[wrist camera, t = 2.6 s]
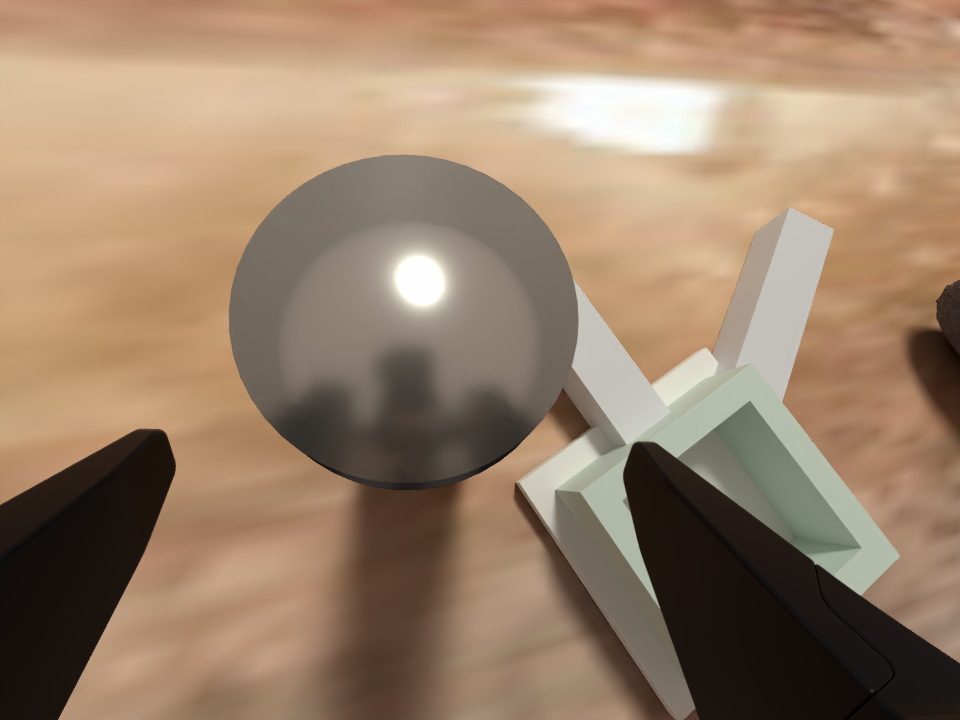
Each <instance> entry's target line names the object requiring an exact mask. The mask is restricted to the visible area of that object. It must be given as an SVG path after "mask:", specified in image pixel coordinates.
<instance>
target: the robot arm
mask: <svg viewBox="0 0 960 720" xmlns="http://www.w3.org/2000/svg"><path fill="white" fill-rule="evenodd" d="M175 470H176V462H175V459H174V455H173V452H172V449H171V446H170V443H169V440H168V437H167V434H166V433H165V432H164V431H163V430H160V429H137V430H135V431H133V432H131V433H129V434H127V435H126V436H124V437H122V438H120V439H118V440H117V441H115V442H113V443H111V444H109V445H108V446H106V447H104V448H102V449H100V450H99V451H97V452H95V453H93V454H91V455H90V456H88V457H86V458H84V459H82V460H80V461H79V462H77V463H75V464H73V465H71V466H70V467H68V468H66V469H64V470H62V471H61V472H59V473H57V474H55V475H53V476H52V477H50V478H48V479H46V480H44V481H43V482H41V483H39V484H37V485H35V486H34V487H32V488H30V489H28V490H26V491H24V492H23V493H21V494H19V495H17V496H15V497H14V498H12V499H10V500H8V501H6V502H5V503H3V504H1V505H0V720H58V719H59V717H60V715H61V713H62V711H63V709H64V707H65V705H66V703H67V701H68V699H69V698H70V696H71V694H72V692H73V690H74V688H75V686H76V684H77V682H78V680H79V678H80V676H81V674H82V672H83V670H84V669H85V667H86V665H87V663H88V661H89V659H90V657H91V655H92V653H93V651H94V649H95V647H96V645H97V643H98V641H99V640H100V638H101V636H102V634H103V632H104V630H105V628H106V626H107V624H108V622H109V620H110V618H111V616H112V614H113V612H114V611H115V609H116V607H117V605H118V603H119V601H120V599H121V597H122V595H123V593H124V591H125V589H126V587H127V585H128V583H129V582H130V580H131V578H132V576H133V574H134V572H135V570H136V568H137V566H138V564H139V562H140V560H141V558H142V556H143V554H144V552H145V550H146V547H147V545H148V542H149V540H150V538H151V535H152V532H153V530H154V527H155V525H156V522H157V519H158V517H159V514H160V512H161V509H162V506H163V504H164V501H165V498H166V496H167V493H168V491H169V488H170V485H171V483H172V480H173V478H174V475H175ZM623 482H624V487H625V491H626V495H627V499H628V504H629V508H630V512H631V516H632V521H633V525H634V529H635V533H636V538H637V542H638V545H639V549H640V552H641V555H642V558H643V562H644V564H645V567H646V570H647V573H648V576H649V579H650V581H651V584H652V587H653V590H654V593H655V595H656V598H657V601H658V604H659V607H660V610H661V612H662V615H663V618H664V621H665V624H666V627H667V629H668V632H669V635H670V638H671V641H672V644H673V646H674V649H675V652H676V655H677V658H678V660H679V663H680V666H681V669H682V672H683V675H684V677H685V680H686V683H687V686H688V689H689V692H690V694H691V697H692V700H693V703H694V706H695V709H696V711H697V714H698V717H699V720H960V663H959V662H957V661H956V660H954V659H953V658H951V657H950V656H948V655H947V654H945V653H944V652H942V651H941V650H939V649H938V648H936V647H935V646H933V645H932V644H930V643H929V642H927V641H926V640H924V639H923V638H921V637H920V636H918V635H917V634H915V633H914V632H912V631H911V630H909V629H908V628H906V627H905V626H903V625H902V624H901V623H899V622H898V621H896V620H895V619H893V618H892V617H890V616H889V615H887V614H886V613H884V612H883V611H882V610H880V609H879V608H877V607H876V606H874V605H873V604H871V603H870V602H869V601H867V600H866V599H864V598H863V597H862V596H860V595H859V594H858V593H856V592H855V591H854V590H852V589H851V588H849V587H848V586H847V585H845V584H844V583H843V582H841V581H840V580H838V579H837V578H836V577H834V576H833V575H832V574H830V573H829V572H828V571H826V570H825V569H824V568H823V567H821V566H820V565H818V564H814V561H813V560H812V559H810V558H809V557H808V556H806V555H805V554H804V553H802V552H801V551H800V550H798V549H797V548H796V547H794V546H793V545H792V544H790V543H789V542H788V541H786V540H785V539H784V538H782V537H781V536H780V535H778V534H777V533H776V532H774V531H773V530H772V529H770V528H769V527H768V526H766V525H765V524H764V523H762V522H761V521H760V520H758V519H757V518H756V517H754V516H753V515H752V514H750V513H749V512H748V511H746V510H745V509H744V508H742V507H741V506H740V505H738V504H737V503H736V502H734V501H733V500H732V499H730V498H729V497H728V496H727V495H725V494H724V493H723V492H721V491H720V490H719V489H717V488H716V487H715V486H713V485H712V484H711V483H709V482H708V481H707V480H705V479H704V478H703V477H701V476H700V475H699V474H697V473H696V472H695V471H693V470H692V469H691V468H689V467H688V466H687V465H685V464H684V463H683V462H681V461H680V460H679V459H677V458H676V457H675V456H673V455H672V454H671V453H669V452H668V451H667V450H665V449H664V448H663V447H661V446H660V445H659V444H657V443H655V442H652V441H637V442H635V443H634V444H633V445H632V447H631V450H630V453H629V456H628V458H627V461H626V464H625V467H624V470H623Z"/></svg>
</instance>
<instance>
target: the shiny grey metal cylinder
mask: <svg viewBox="0 0 960 720" xmlns="http://www.w3.org/2000/svg"><path fill="white" fill-rule="evenodd" d="M578 325H579V317H578V301H577V295H576V290H575V285H574V280H573V277H572V274H571V271H570V268H569V265H568V262H567V260H566V258H565V256H564V254H563V252H562V250H561V247H560V245H559V243H558V242H557V240H556V239H555V237H554V236H553V234H552V232H551V231H550V229H549V228H548V226H547V225H546V224H545V223H544V221H543V220H542V219H541V218H540V217H539V215H538V214H537V213H536V212H535V211H534V210H533V209H532V208H531V207H530V206H529V205H528V204H527V203H526V202H525V201H524V200H523V199H522V198H521V197H519V196H518V195H517V194H515V193H514V192H513V191H511V190H510V189H509V188H507V187H506V186H505V185H503V184H501V183H500V182H498V181H496V180H495V179H493V178H491V177H489V176H488V175H486V174H484V173H481V172H479V171H477V170H474V169H472V168H470V167H468V166H465V165H461V164H458V163H455V162H452V161H448V160H444V159H438V158H433V157H428V156H416V155H387V156H379V157H372V158H366V159H361V160H358V161H354V162H350V163H347V164H343V165H341V166H338V167H336V168H333V169H331V170H329V171H326V172H324V173H322V174H320V175H318V176H316V177H315V178H313V179H311V180H309V181H307V182H306V183H304V184H303V185H301V186H300V187H298V188H297V189H296V190H294V191H293V192H292V193H290V194H289V195H288V196H286V197H285V198H284V199H283V200H282V201H281V202H280V203H279V204H278V205H277V206H276V207H275V208H274V209H273V210H272V211H271V212H270V213H269V214H268V216H267V217H266V218H265V219H264V220H263V222H262V223H261V224H260V225H259V227H258V228H257V230H256V231H255V233H254V235H253V236H252V238H251V239H250V241H249V243H248V244H247V246H246V248H245V250H244V253H243V255H242V257H241V260H240V262H239V264H238V267H237V270H236V274H235V278H234V281H233V285H232V290H231V298H230V306H229V333H230V339H231V345H232V350H233V356H234V359H235V362H236V365H237V368H238V371H239V374H240V377H241V379H242V381H243V383H244V385H245V387H246V389H247V391H248V393H249V395H250V397H251V399H252V400H253V402H254V403H255V405H256V406H257V408H258V409H259V410H260V412H261V413H262V415H263V416H264V418H265V419H266V420H267V421H268V422H269V423H270V424H271V425H272V426H273V427H274V428H275V429H276V431H277V432H278V433H279V434H280V435H281V436H282V437H284V438H285V439H286V440H287V441H289V442H290V443H291V444H292V445H294V446H295V447H296V448H297V449H299V450H300V451H301V452H303V453H304V454H306V455H307V456H308V457H310V458H311V459H312V460H313V461H315V462H316V463H318V464H319V465H321V466H323V467H324V468H326V469H328V470H330V471H331V472H333V473H335V474H337V475H340V476H342V477H344V478H347V479H349V480H352V481H354V482H358V483H361V484H365V485H369V486H373V487H377V488H385V489H393V490H422V489H428V488H435V487H442V486H445V485H449V484H452V483H456V482H459V481H463V480H465V479H467V478H469V477H472V476H474V475H476V474H479V473H481V472H483V471H484V470H486V469H488V468H489V467H491V466H493V465H494V464H496V463H498V462H499V461H501V460H502V459H503V458H504V457H506V456H507V455H508V454H509V453H510V452H512V451H513V450H514V449H515V448H516V447H517V446H518V445H519V444H520V443H521V442H522V441H523V440H524V439H525V438H526V437H527V436H528V435H529V434H530V433H531V432H532V431H533V430H534V429H535V427H536V426H537V425H538V424H539V423H540V422H541V421H542V420H543V419H544V417H545V416H546V414H547V413H548V412H549V410H550V409H551V407H552V406H553V405H554V403H555V402H556V400H557V398H558V396H559V394H560V392H561V390H562V389H563V387H564V385H565V383H566V380H567V377H568V375H569V372H570V369H571V366H572V363H573V359H574V355H575V350H576V345H577V338H578Z"/></svg>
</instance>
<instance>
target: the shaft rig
mask: <svg viewBox="0 0 960 720" xmlns="http://www.w3.org/2000/svg"><path fill="white" fill-rule="evenodd" d="M833 232H834V229H832V228H830V227H828V226H826V225H824V224H822V223H820V222H818V221H816V220H814V219H812V218H810V217H808V216H806V215H804V214H802V213H800V212H798V211H796V210H794V209H792V208H790V207H789V208H788V209H786V210H785V211H784V212H782V213H781V214H779V215H778V216H777V217H775V218H774V219H773V220H771V221H770V222H768V223H767V224H766V225H764V226H763V227H762V228H760V229H759V230H757V231H756V232H755V235H754V238H753V241H752V244H751V246H750V249H749V252H748V255H747V258H746V261H745V263H744V266H743V269H742V272H741V275H740V277H739V280H738V283H737V286H736V289H735V292H734V294H733V297H732V300H731V303H730V306H729V308H728V311H727V314H726V317H725V320H724V323H723V325H722V328H721V331H720V334H719V337H718V339H717V342H716V345H715V348H714V351H713V354H711V353H710V351H709V350H708V349H707V347H706V348H703V349H701V350H699V351H697V352H695V353H694V354H692V355H691V356H689V357H688V358H687V359H685V360H684V361H683V362H681V363H680V364H678V365H677V366H676V367H674V368H673V369H671V370H670V371H669V372H667V373H666V374H665V375H663V376H662V377H660V378H659V379H658V380H656V381H655V382H653V383H652V384H651V385H650V383H649V382H648V381H647V379H646V378H645V376H644V375H643V374H642V372H641V371H640V370H639V368H638V367H637V365H636V364H635V363H634V361H633V360H632V359H631V357H630V356H629V354H628V353H627V352H626V350H625V349H624V348H623V346H622V345H621V344H620V342H619V341H618V339H617V338H616V337H615V335H614V334H613V333H612V331H611V330H610V328H609V327H608V326H607V324H606V323H605V322H604V320H603V319H602V318H601V316H600V315H599V313H598V312H597V311H596V309H595V308H594V307H593V305H592V304H591V302H590V301H589V300H588V298H587V297H586V296H585V294H584V293H583V292H582V290H581V289H580V287H579V286H578V285H577V283H576V282H575V281H574V285H575V290H576V295H577V301H578V317H579V325H578V338H577V345H576V350H575V355H574V359H573V363H572V366H571V369H570V372H569V375H568V377H567V380H566V383H565V385H564V387H563V389H564V390H565V392H566V393H567V395H568V396H569V398H570V399H571V400H572V402H573V403H574V405H575V406H576V408H577V409H578V410H579V412H580V413H581V415H582V416H583V418H584V419H585V420H586V422H587V423H588V425H589V426H590V429H588V430H587V431H586V432H584V433H583V434H581V435H580V436H579V437H577V438H576V439H575V440H573V441H572V442H570V443H569V444H568V445H566V446H565V447H563V448H562V449H561V450H559V451H558V452H557V453H555V454H554V455H552V456H551V457H550V458H548V459H547V460H545V461H544V462H543V463H541V464H540V465H539V466H537V467H536V468H534V469H533V470H532V471H530V472H529V473H527V474H526V475H525V476H523V477H522V478H521V479H519V480H518V481H516V482H515V483H516V484H517V486H518V487H519V489H520V490H521V492H522V493H523V495H524V496H525V498H526V499H527V501H528V502H529V504H530V505H531V507H532V508H533V510H534V511H535V513H536V514H537V516H538V517H539V519H540V520H541V522H542V523H543V525H544V526H545V528H546V529H547V531H548V532H549V534H550V535H551V537H552V538H553V540H554V541H555V543H556V544H557V546H558V547H559V549H560V550H561V552H562V553H563V555H564V556H565V558H566V559H567V561H568V562H569V564H570V565H571V567H572V568H573V570H574V571H575V573H576V574H577V576H578V577H579V579H580V580H581V582H582V583H583V585H584V586H585V588H586V589H587V591H588V592H589V594H590V595H591V597H592V598H593V600H594V601H595V603H596V604H597V606H598V607H599V609H600V610H601V612H602V613H603V615H604V616H605V618H606V620H607V621H608V623H609V624H610V626H611V627H612V629H613V630H614V632H615V633H616V635H617V636H618V638H619V639H620V641H621V642H622V644H623V645H624V647H625V648H626V650H627V651H628V653H629V654H630V656H631V657H632V659H633V660H634V662H635V663H636V665H637V666H638V668H639V669H640V671H641V672H642V674H643V675H644V677H645V678H646V680H647V681H648V683H649V684H650V686H651V687H652V689H653V690H654V692H655V693H656V695H657V696H658V698H659V699H660V701H661V702H662V704H663V705H664V707H665V708H666V710H667V711H668V713H669V714H670V715H671V716H672V717H673V718H675V719H676V720H684V719H685V718H686V717H687V716H688V715H689V714H690V713H691V712H692V711H693V710H694V709H695V706H694V703H693V700H692V697H691V694H690V692H689V689H688V686H687V683H686V680H685V677H684V675H683V672H682V669H681V666H680V663H679V660H678V658H677V655H676V652H675V649H674V646H673V644H672V641H671V638H670V635H669V632H668V629H667V627H666V624H665V621H664V618H663V615H662V612H661V610H660V607H659V604H658V601H657V598H656V595H655V593H654V590H653V587H652V584H651V581H650V579H649V576H648V573H647V570H646V567H645V564H644V562H643V558H642V555H641V552H640V549H639V545H638V542H637V538H636V533H635V529H634V525H633V521H632V516H631V512H630V508H629V504H628V499H627V495H626V491H625V487H624V482H623V470H624V467H625V464H626V461H627V458H628V456H629V453H630V450H631V447H632V445H633V444H634V443H635V442H637V441H652V442H655V443H657V444H659V445H660V446H661V447H663V448H664V449H665V450H667V451H668V452H669V453H671V454H672V455H673V456H675V457H676V458H677V459H679V460H680V461H681V462H683V463H684V464H685V465H687V466H688V467H689V468H691V469H692V470H693V471H695V472H696V473H697V474H699V475H700V476H701V477H703V478H704V479H705V480H707V481H708V482H709V483H711V484H712V485H713V486H715V487H716V488H717V489H719V490H720V491H721V492H723V493H724V494H725V495H727V496H728V497H729V498H730V499H732V500H733V501H734V502H736V503H737V504H738V505H740V506H741V507H742V508H744V509H745V510H746V511H748V512H749V513H750V514H752V515H753V516H754V517H756V518H757V519H758V520H760V521H761V522H762V523H764V524H765V525H766V526H768V527H769V528H770V529H772V530H773V531H774V532H776V533H777V534H778V535H780V536H781V537H782V538H784V539H785V540H786V541H788V542H789V543H790V544H792V545H793V546H794V547H796V548H797V549H798V550H800V551H801V552H802V553H804V554H805V555H806V556H808V557H809V558H810V559H812V560H813V561H814V564H818V565H820V566H821V567H823V568H824V569H825V570H826V571H828V572H829V573H830V574H832V575H833V576H834V577H836V578H837V579H838V580H840V581H841V582H843V583H844V584H845V585H847V586H848V587H849V588H851V589H852V590H854V591H855V592H856V593H858V594H859V595H860V596H861V595H862V594H863V593H864V592H865V591H866V590H867V589H868V588H869V587H870V586H871V585H872V584H873V583H874V582H875V581H876V580H877V579H878V578H879V577H880V576H881V575H882V574H883V573H884V572H885V571H886V570H887V569H888V568H889V567H890V566H891V565H892V564H893V563H894V562H895V561H896V560H897V559H898V558H899V557H900V555H899V554H898V552H897V551H896V550H895V548H894V547H893V546H892V544H891V543H890V542H889V541H888V539H887V538H886V537H885V535H884V534H883V533H882V531H881V530H880V529H879V527H878V526H877V525H876V524H875V522H874V521H873V520H872V518H871V517H870V516H869V514H868V513H867V512H866V511H865V509H864V508H863V507H862V505H861V504H860V503H859V501H858V500H857V499H856V498H855V496H854V495H853V494H852V492H851V491H850V490H849V488H848V487H847V486H846V485H845V483H844V482H843V481H842V479H841V478H840V477H839V475H838V474H837V473H836V472H835V470H834V469H833V468H832V466H831V465H830V464H829V462H828V461H827V460H826V459H825V457H824V456H823V455H822V453H821V452H820V451H819V449H818V448H817V447H816V446H815V444H814V443H813V442H812V440H811V439H810V438H809V436H808V435H807V434H806V433H805V431H804V430H803V429H802V427H801V426H800V425H799V423H798V422H797V421H796V420H795V418H794V417H793V416H792V414H791V413H790V412H789V410H788V409H787V408H786V407H785V405H784V404H783V403H782V401H783V398H784V394H785V391H786V388H787V384H788V381H789V378H790V375H791V371H792V368H793V365H794V361H795V358H796V355H797V351H798V348H799V345H800V341H801V338H802V335H803V331H804V328H805V325H806V321H807V318H808V315H809V311H810V308H811V305H812V301H813V298H814V295H815V291H816V288H817V285H818V281H819V278H820V275H821V271H822V268H823V265H824V261H825V258H826V255H827V251H828V248H829V245H830V241H831V238H832V235H833ZM573 280H574V279H573Z"/></svg>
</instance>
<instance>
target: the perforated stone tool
mask: <svg viewBox="0 0 960 720" xmlns="http://www.w3.org/2000/svg"><path fill="white" fill-rule="evenodd" d="M936 302H937V313H936V315H937V316H936V318H937V320H938V322H939V325H940V327H941V329H942V331H943V333H944V334H945V336H946V338H947V339H948V341H949V342H950V343H951V345H952V346H953V348H954V349H955V351H956V352H957V353H958V354H959V355H960V280H958V281H956V282H954V283H953V284H952V285H947V286H946V288H945V289H944V290H943V292H942V294H941V296H940V297H939V298H938V299H937V300H936Z"/></svg>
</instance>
